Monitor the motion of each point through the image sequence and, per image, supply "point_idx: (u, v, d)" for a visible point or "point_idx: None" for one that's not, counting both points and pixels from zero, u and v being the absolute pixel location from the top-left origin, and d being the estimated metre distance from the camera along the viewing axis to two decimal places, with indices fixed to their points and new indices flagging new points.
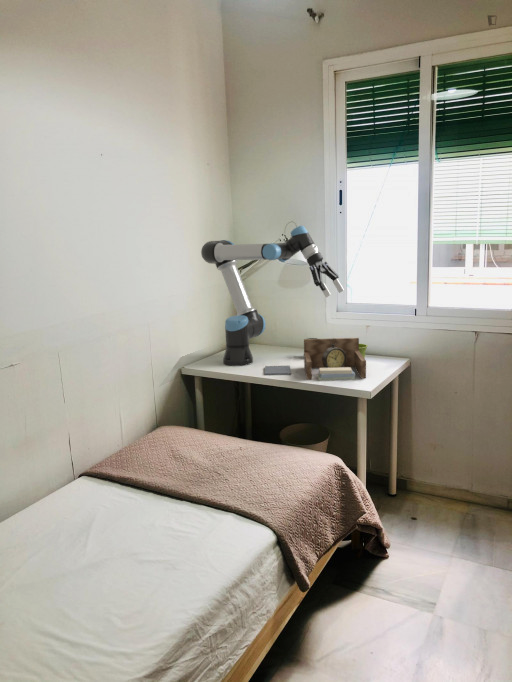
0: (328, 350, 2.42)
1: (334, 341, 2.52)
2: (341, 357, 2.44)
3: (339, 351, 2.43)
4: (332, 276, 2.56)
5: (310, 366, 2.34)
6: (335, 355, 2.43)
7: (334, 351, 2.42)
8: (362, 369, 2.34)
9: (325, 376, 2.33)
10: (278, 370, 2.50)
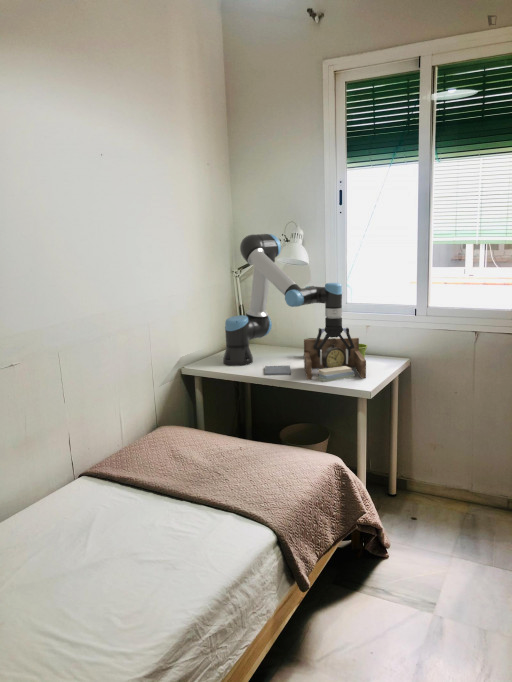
0: (328, 350, 2.42)
1: (334, 341, 2.52)
2: (341, 357, 2.44)
3: (339, 351, 2.43)
4: (345, 345, 2.43)
5: (310, 366, 2.34)
6: (335, 355, 2.43)
7: (334, 351, 2.42)
8: (362, 369, 2.34)
9: (330, 377, 2.32)
10: (278, 370, 2.50)
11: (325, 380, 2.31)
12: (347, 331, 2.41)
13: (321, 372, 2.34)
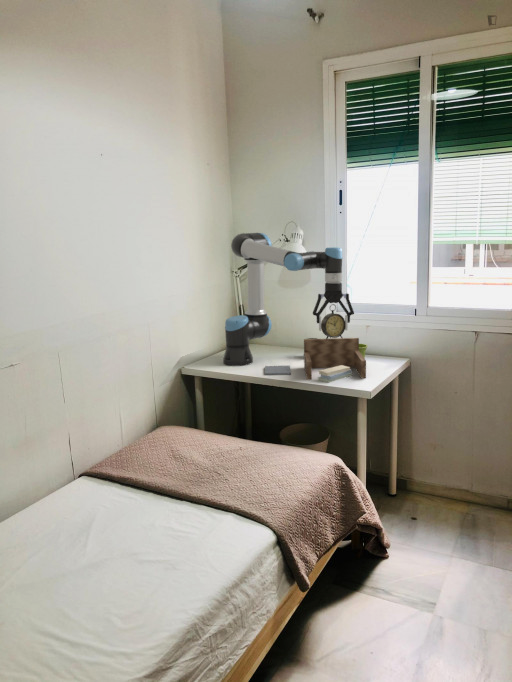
0: (327, 316, 2.39)
1: (334, 341, 2.52)
2: (340, 323, 2.41)
3: (338, 317, 2.40)
4: None
5: (310, 366, 2.34)
6: (334, 321, 2.40)
7: (333, 317, 2.39)
8: (362, 369, 2.34)
9: (333, 377, 2.31)
10: (278, 370, 2.50)
11: (329, 381, 2.30)
12: (347, 297, 2.38)
13: (323, 373, 2.32)
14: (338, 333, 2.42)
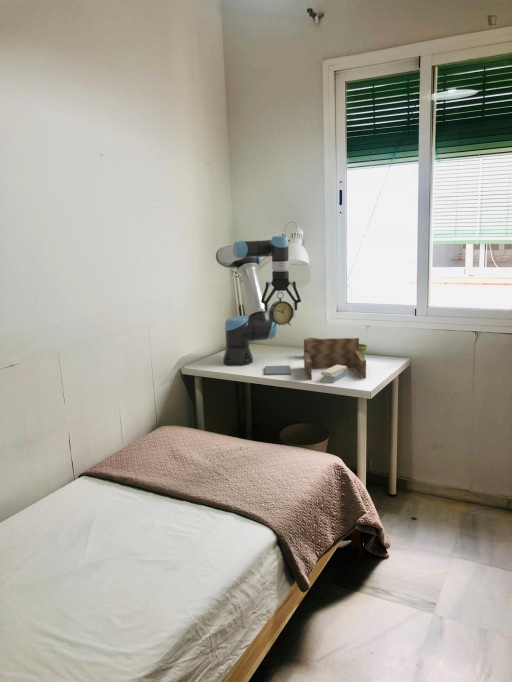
0: (275, 303, 2.43)
1: (334, 341, 2.52)
2: (288, 311, 2.46)
3: (286, 305, 2.45)
4: (292, 299, 2.44)
5: (310, 366, 2.34)
6: (282, 309, 2.44)
7: (281, 305, 2.44)
8: (362, 369, 2.34)
9: (336, 377, 2.31)
10: (278, 370, 2.50)
11: (334, 381, 2.30)
12: (294, 285, 2.42)
13: (327, 374, 2.31)
14: (286, 320, 2.46)
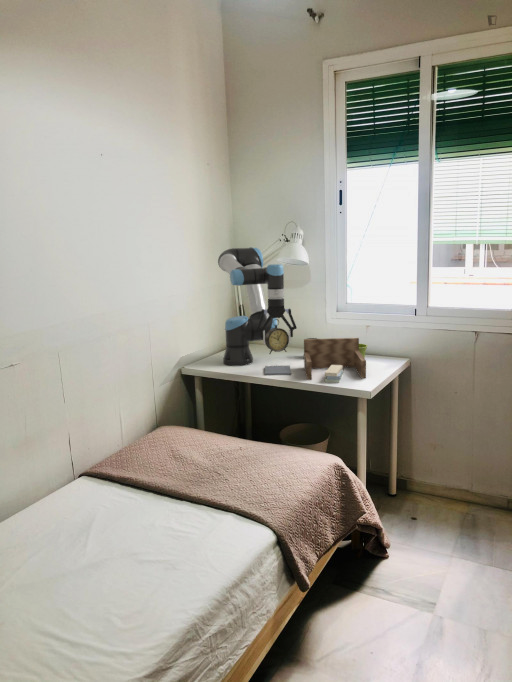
0: (270, 330, 2.46)
1: (334, 341, 2.52)
2: (284, 338, 2.48)
3: (282, 332, 2.47)
4: (287, 325, 2.47)
5: (310, 366, 2.34)
6: (277, 335, 2.47)
7: (276, 332, 2.46)
8: (362, 369, 2.34)
9: (340, 377, 2.31)
10: (278, 370, 2.50)
11: (339, 381, 2.30)
12: (289, 312, 2.45)
13: (331, 374, 2.30)
14: (282, 347, 2.48)
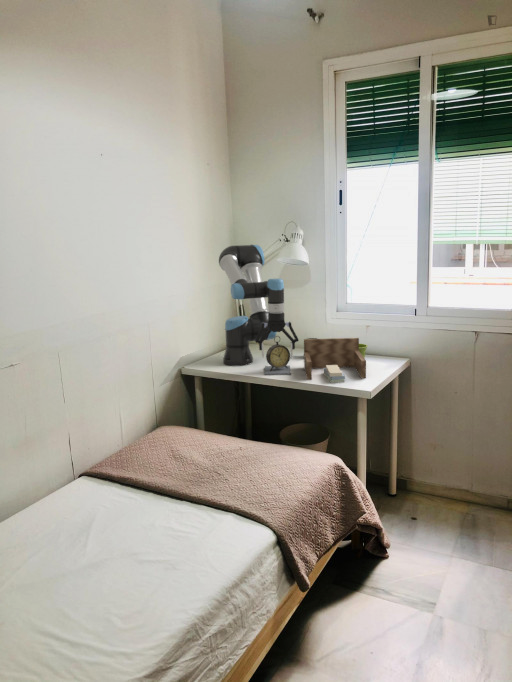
0: (272, 347, 2.48)
1: (334, 341, 2.52)
2: (285, 354, 2.50)
3: (283, 348, 2.49)
4: (289, 338, 2.48)
5: (310, 366, 2.34)
6: (279, 352, 2.49)
7: (277, 348, 2.48)
8: (362, 369, 2.34)
9: None
10: (278, 370, 2.50)
11: None
12: (289, 325, 2.46)
13: (337, 374, 2.30)
14: (283, 363, 2.50)
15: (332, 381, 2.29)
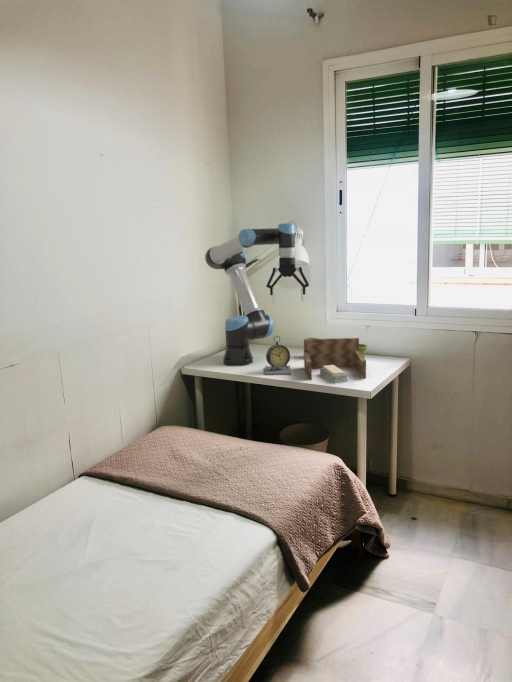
0: (271, 347, 2.48)
1: (334, 341, 2.52)
2: (285, 354, 2.50)
3: (283, 348, 2.49)
4: (299, 283, 2.50)
5: (310, 366, 2.34)
6: (279, 352, 2.49)
7: (277, 348, 2.48)
8: (362, 369, 2.34)
9: None
10: (278, 370, 2.50)
11: None
12: (300, 270, 2.48)
13: (340, 374, 2.30)
14: (283, 363, 2.50)
15: (336, 381, 2.29)
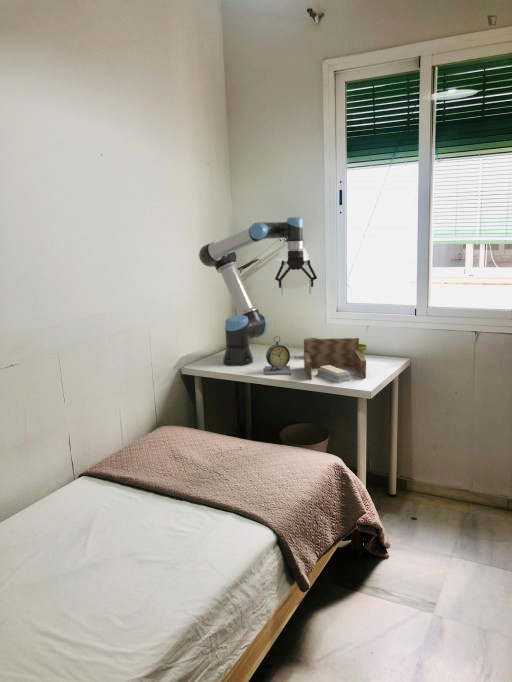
0: (271, 347, 2.48)
1: (334, 341, 2.52)
2: (285, 354, 2.50)
3: (283, 348, 2.49)
4: (308, 276, 2.56)
5: (310, 366, 2.34)
6: (279, 352, 2.49)
7: (277, 348, 2.48)
8: (362, 369, 2.34)
9: None
10: (278, 370, 2.50)
11: None
12: (308, 263, 2.54)
13: (343, 373, 2.30)
14: (283, 363, 2.50)
15: (340, 381, 2.29)
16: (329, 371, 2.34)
